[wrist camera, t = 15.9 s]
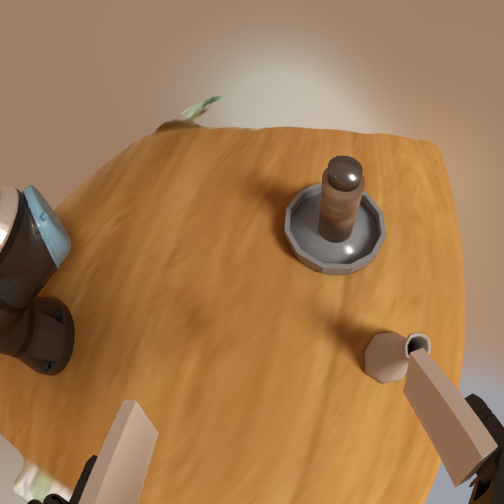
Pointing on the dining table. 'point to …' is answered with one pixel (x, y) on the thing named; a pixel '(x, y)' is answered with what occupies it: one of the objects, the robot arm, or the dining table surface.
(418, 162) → the dining table surface
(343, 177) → the pepper mill
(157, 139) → the dining table surface
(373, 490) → the dining table surface
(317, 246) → the round grey tray
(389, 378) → the flask
